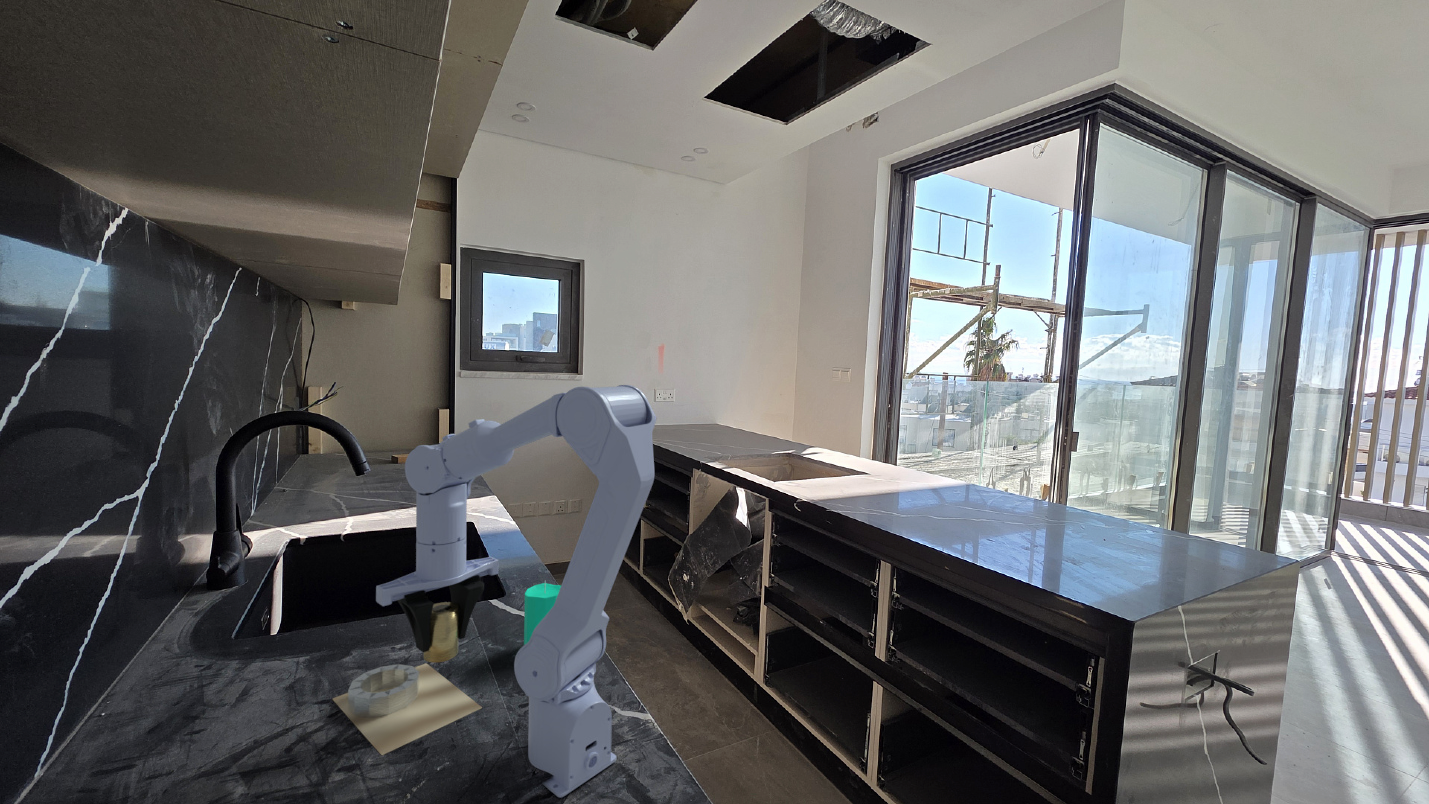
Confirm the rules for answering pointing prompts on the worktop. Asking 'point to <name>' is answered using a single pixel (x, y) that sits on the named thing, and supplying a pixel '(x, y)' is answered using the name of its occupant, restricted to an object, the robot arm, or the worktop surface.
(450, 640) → the brass sleeve
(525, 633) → the candle
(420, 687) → the jig plate
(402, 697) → the bore collar
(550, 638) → the robot arm
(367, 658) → the worktop surface
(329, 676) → the worktop surface
